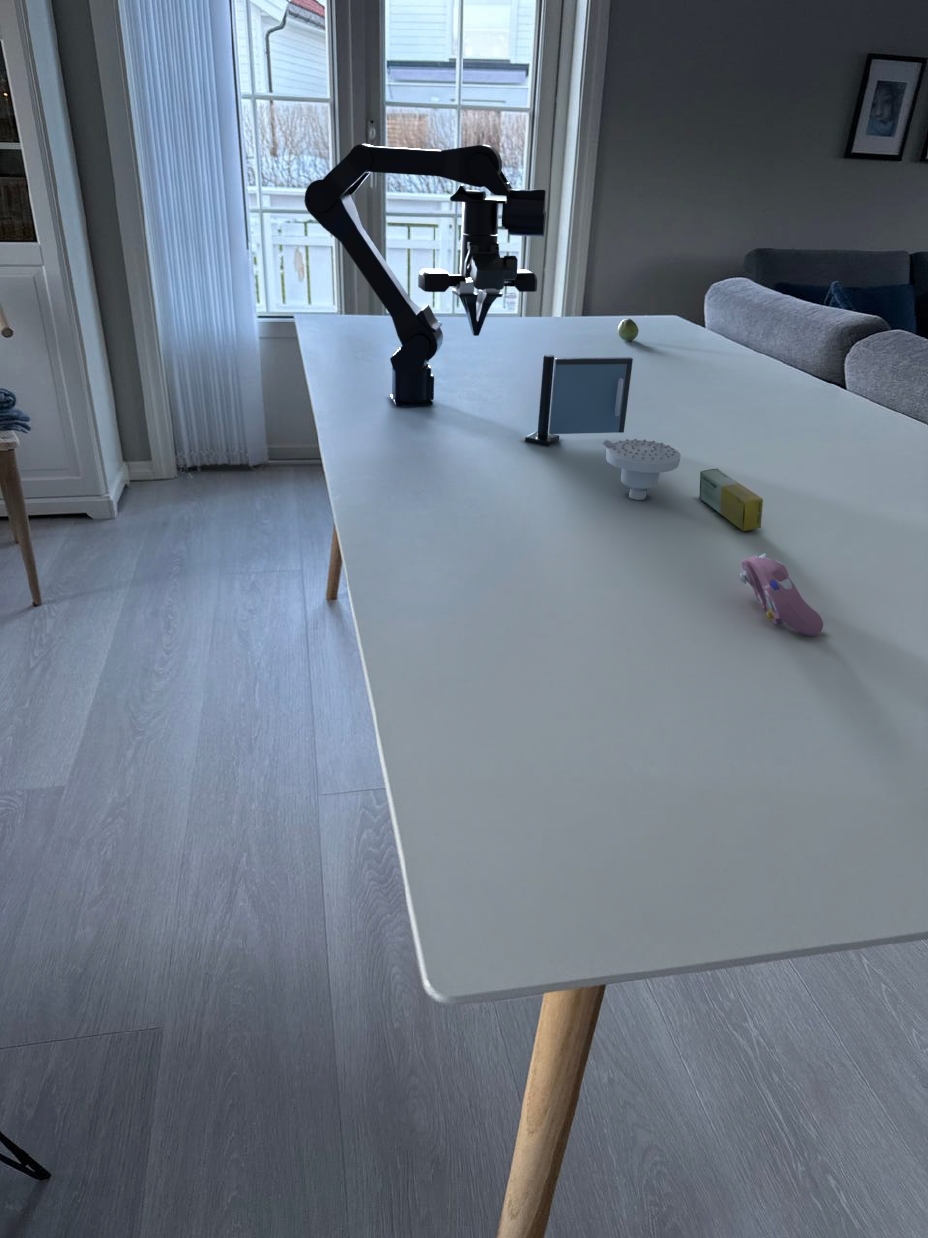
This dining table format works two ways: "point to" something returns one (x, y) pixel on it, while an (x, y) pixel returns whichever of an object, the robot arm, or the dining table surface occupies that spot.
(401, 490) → the dining table surface
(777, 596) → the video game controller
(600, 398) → the shower door
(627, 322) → the lime
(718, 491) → the medication box
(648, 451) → the showerhead
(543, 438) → the hinge post
